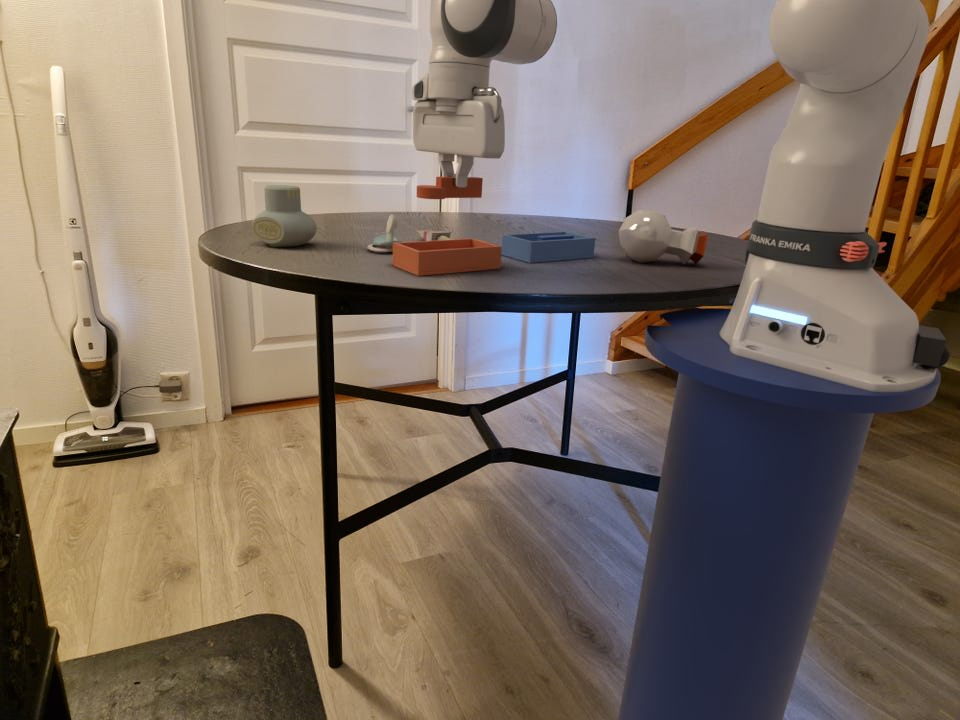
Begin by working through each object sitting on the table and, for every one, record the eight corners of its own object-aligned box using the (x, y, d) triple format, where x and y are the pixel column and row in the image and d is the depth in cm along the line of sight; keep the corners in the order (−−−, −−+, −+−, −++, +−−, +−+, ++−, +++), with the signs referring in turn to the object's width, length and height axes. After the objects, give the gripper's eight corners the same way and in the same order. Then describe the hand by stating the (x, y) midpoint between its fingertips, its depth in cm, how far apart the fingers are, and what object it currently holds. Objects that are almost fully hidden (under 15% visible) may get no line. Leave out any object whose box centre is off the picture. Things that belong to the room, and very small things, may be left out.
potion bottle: (609, 265, 114) (689, 280, 114) (621, 241, 105) (708, 258, 104) (615, 221, 117) (694, 236, 116) (628, 194, 107) (714, 210, 107)
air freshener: (325, 245, 111) (323, 187, 107) (293, 251, 104) (290, 190, 100) (277, 238, 115) (274, 182, 112) (244, 243, 108) (240, 184, 104)
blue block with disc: (561, 249, 117) (563, 233, 116) (577, 253, 114) (579, 236, 113) (516, 252, 111) (517, 235, 110) (531, 256, 108) (533, 239, 107)
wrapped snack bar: (431, 222, 123) (475, 244, 107) (431, 236, 124) (473, 259, 108) (413, 222, 122) (454, 244, 105) (413, 236, 123) (453, 260, 106)
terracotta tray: (500, 268, 99) (501, 246, 98) (418, 276, 91) (418, 251, 90) (471, 259, 106) (472, 238, 104) (392, 265, 97) (392, 242, 96)
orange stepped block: (471, 195, 99) (472, 176, 98) (486, 198, 96) (488, 178, 95) (411, 196, 93) (411, 175, 92) (425, 199, 90) (426, 178, 89)
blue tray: (593, 257, 114) (595, 237, 112) (529, 263, 105) (531, 241, 104) (563, 249, 120) (565, 231, 119) (501, 254, 111) (502, 234, 110)
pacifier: (372, 255, 105) (406, 254, 107) (371, 218, 102) (406, 217, 105) (363, 248, 111) (395, 246, 113) (361, 212, 109) (394, 211, 111)
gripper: (519, 88, 84) (511, 193, 88) (440, 91, 99) (437, 180, 104) (481, 84, 80) (475, 193, 85) (406, 87, 96) (404, 179, 100)
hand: (454, 186), depth 95 cm, fingers closed on orange stepped block
